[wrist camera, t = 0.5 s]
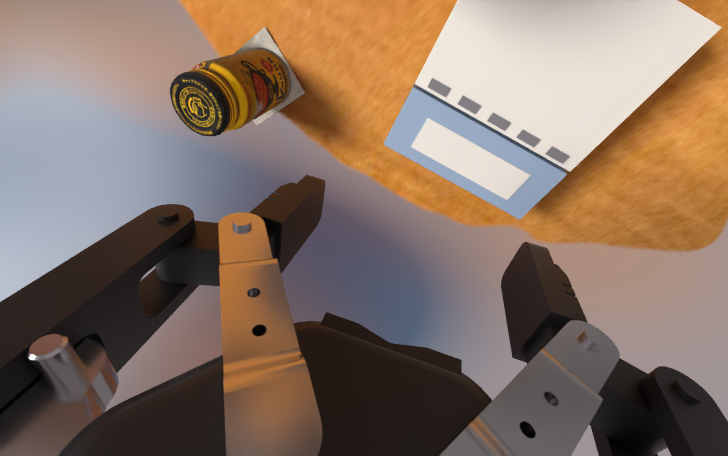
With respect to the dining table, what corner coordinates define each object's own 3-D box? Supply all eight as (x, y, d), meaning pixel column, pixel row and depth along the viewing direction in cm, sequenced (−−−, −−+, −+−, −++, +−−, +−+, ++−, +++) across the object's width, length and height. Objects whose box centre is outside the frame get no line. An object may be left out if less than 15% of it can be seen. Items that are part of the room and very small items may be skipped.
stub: (419, 76, 31) (412, 87, 27) (555, 153, 31) (567, 175, 28) (392, 128, 34) (383, 144, 31) (514, 196, 35) (520, 220, 31)
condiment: (306, 92, 35) (247, 126, 26) (257, 125, 39) (192, 165, 30) (265, 26, 32) (183, 38, 23) (217, 69, 36) (131, 94, 27)
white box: (503, -86, 23) (510, -103, 19) (680, 22, 24) (722, 27, 20) (421, 72, 31) (414, 83, 27) (557, 150, 31) (570, 172, 27)
